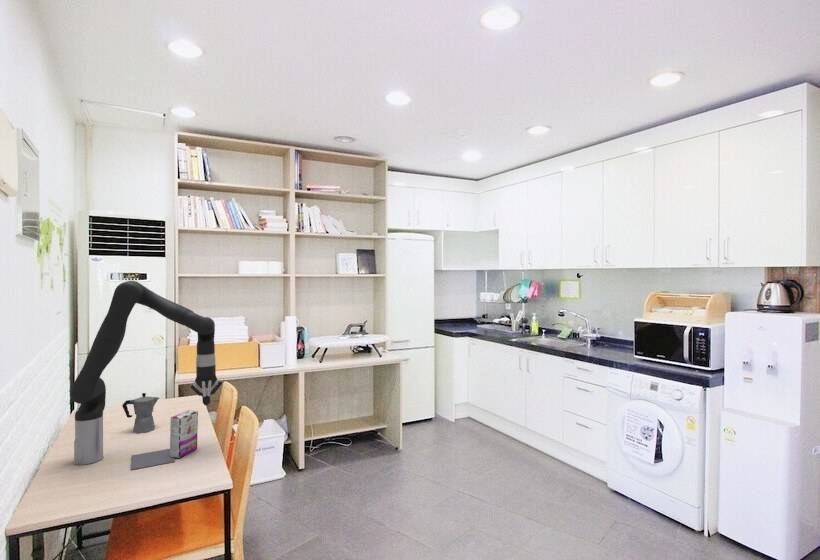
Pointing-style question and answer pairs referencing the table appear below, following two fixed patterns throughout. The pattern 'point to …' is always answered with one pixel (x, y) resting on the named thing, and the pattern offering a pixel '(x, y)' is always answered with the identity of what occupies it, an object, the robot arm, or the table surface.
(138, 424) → the coffeepot
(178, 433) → the candy bar box
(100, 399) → the robot arm
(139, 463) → the mat
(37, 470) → the table surface
